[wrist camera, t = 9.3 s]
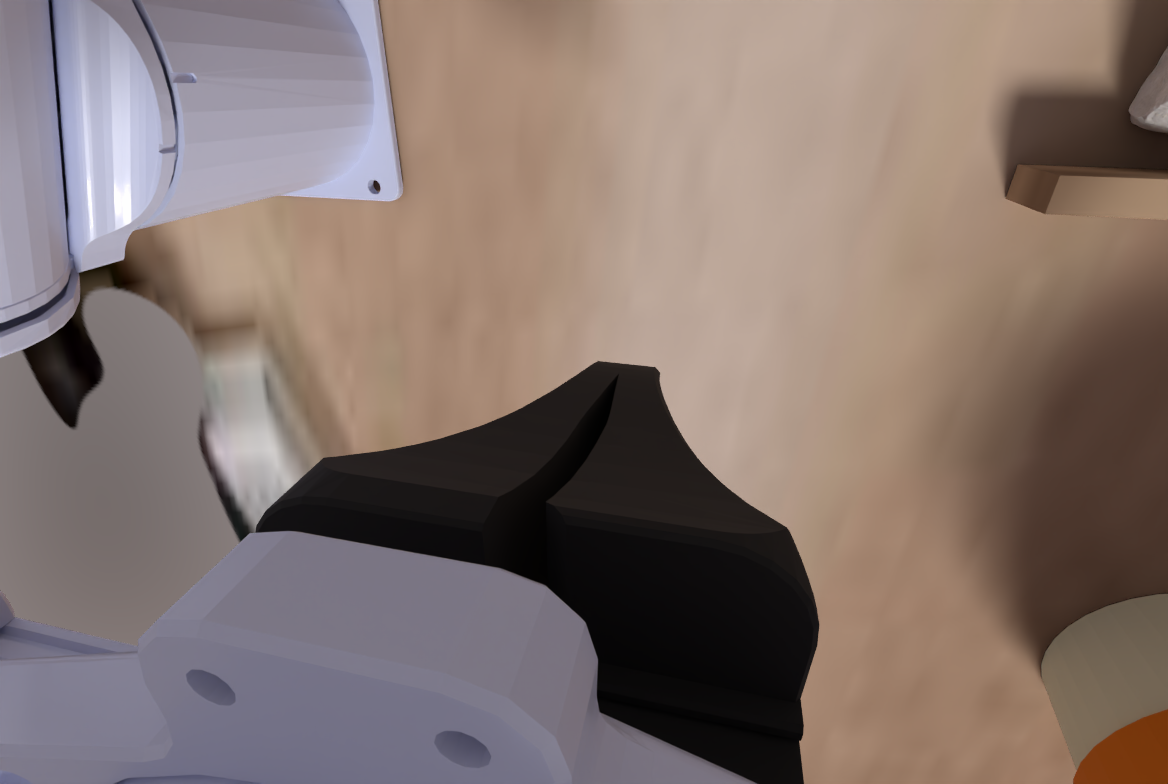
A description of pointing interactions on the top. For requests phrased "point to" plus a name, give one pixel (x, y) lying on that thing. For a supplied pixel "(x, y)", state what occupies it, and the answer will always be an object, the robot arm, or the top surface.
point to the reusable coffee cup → (1113, 692)
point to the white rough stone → (1153, 99)
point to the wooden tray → (1092, 191)
